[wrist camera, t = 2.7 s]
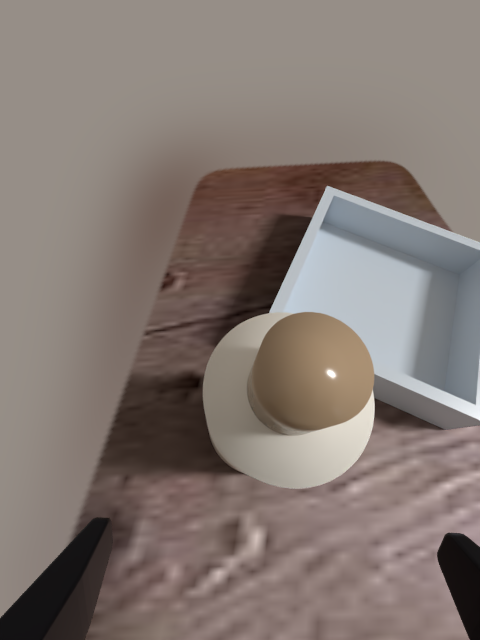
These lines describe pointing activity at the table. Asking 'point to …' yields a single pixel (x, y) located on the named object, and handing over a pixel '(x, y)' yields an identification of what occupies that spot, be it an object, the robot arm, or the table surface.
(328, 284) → the bin
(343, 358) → the dressing bottle
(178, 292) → the table surface
